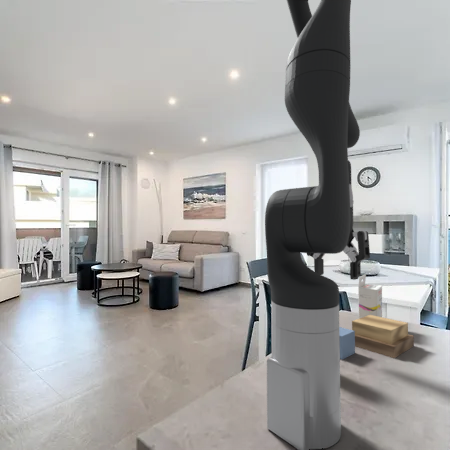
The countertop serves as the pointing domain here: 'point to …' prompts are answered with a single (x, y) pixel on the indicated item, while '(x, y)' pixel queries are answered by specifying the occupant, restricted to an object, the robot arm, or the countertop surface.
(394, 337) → the oak top slab
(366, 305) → the ink cartridge box
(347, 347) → the slate block
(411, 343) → the walnut base slab
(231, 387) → the countertop surface
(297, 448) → the robot arm
